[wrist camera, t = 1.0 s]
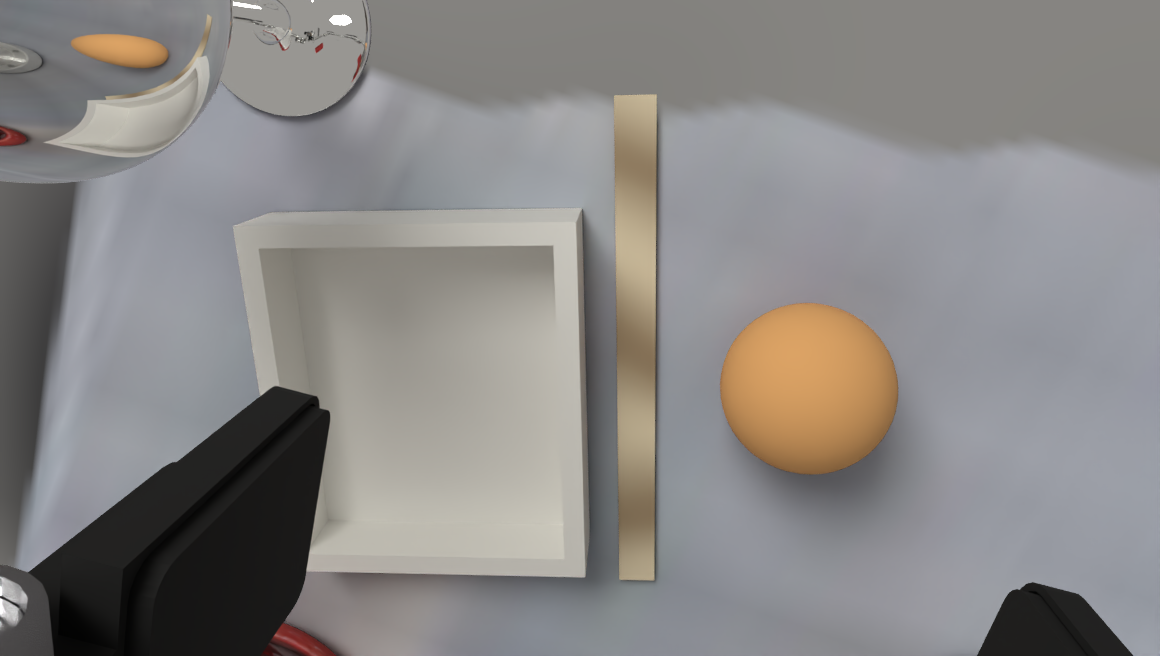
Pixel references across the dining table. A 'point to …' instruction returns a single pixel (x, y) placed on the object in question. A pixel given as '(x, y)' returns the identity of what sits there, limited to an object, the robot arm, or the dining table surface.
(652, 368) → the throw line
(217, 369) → the dining table surface
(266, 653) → the plant pot
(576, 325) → the tray
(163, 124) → the wineglass
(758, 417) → the ball
